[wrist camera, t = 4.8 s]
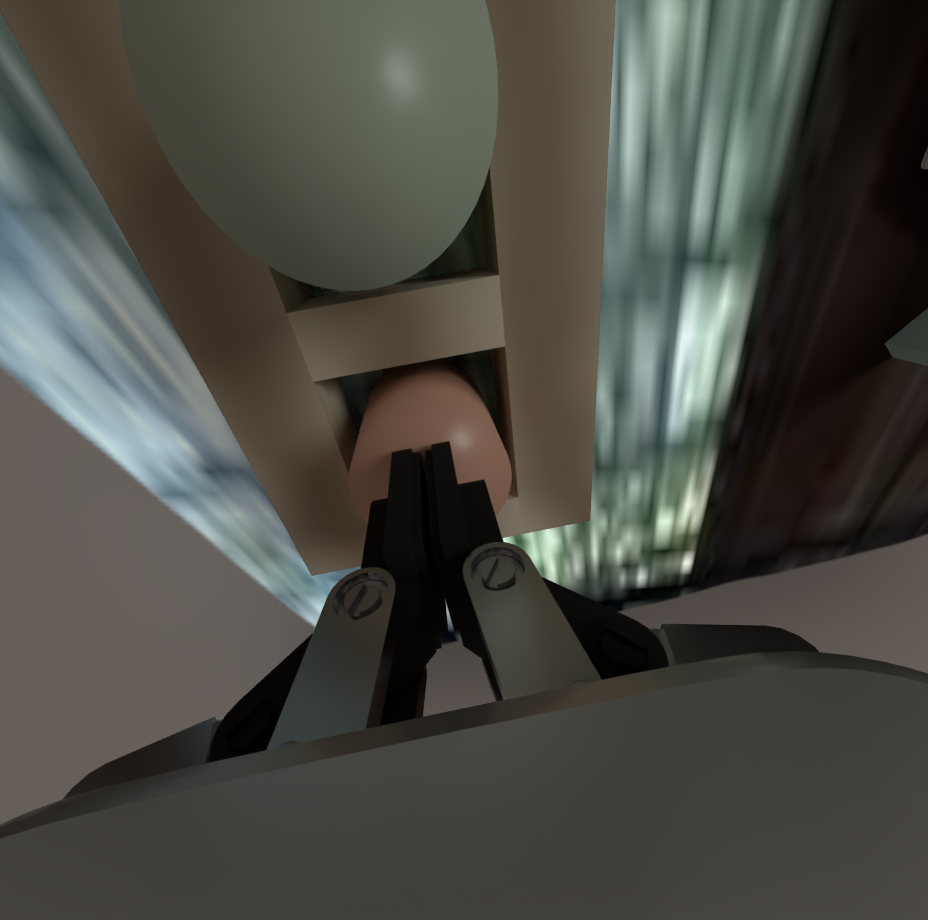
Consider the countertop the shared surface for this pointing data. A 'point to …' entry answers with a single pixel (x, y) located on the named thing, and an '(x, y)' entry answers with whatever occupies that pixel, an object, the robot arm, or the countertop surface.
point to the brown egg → (427, 431)
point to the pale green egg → (323, 124)
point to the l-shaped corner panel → (912, 330)
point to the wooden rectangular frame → (387, 308)
